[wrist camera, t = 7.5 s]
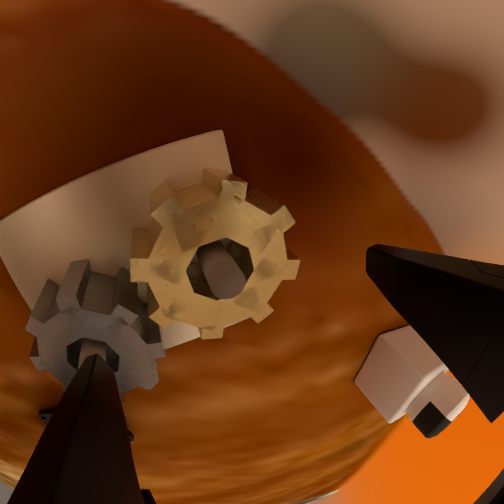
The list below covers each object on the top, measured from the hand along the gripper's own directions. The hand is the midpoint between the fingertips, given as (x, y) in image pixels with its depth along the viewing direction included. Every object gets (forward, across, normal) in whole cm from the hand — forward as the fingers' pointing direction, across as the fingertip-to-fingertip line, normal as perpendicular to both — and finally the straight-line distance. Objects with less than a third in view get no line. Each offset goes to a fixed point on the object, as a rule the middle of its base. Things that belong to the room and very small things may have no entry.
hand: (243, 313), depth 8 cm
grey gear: (+6, +6, +2) cm, 9 cm away
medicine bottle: (+7, -15, +20) cm, 26 cm away
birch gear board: (+7, +4, 0) cm, 8 cm away
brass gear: (+6, 0, 0) cm, 6 cm away
